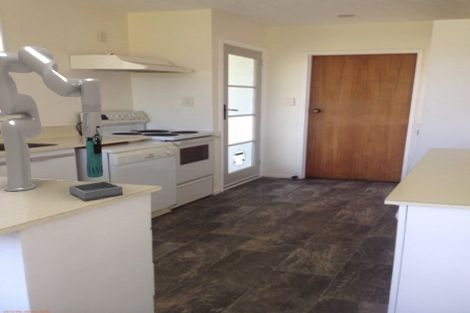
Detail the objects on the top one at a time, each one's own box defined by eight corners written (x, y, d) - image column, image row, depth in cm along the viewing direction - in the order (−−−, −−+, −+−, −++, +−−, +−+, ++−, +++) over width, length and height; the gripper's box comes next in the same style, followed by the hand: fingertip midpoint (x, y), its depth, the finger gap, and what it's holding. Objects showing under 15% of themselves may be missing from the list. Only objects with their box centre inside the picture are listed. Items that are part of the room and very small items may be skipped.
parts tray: (69, 194, 165) (69, 186, 164) (105, 188, 176) (105, 181, 175) (85, 201, 153) (84, 192, 153) (122, 194, 164) (122, 186, 164)
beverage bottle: (84, 180, 161) (81, 132, 158) (93, 177, 168) (90, 131, 165) (97, 181, 160) (95, 133, 157) (106, 178, 166) (104, 131, 163)
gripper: (74, 109, 163) (77, 151, 166) (91, 109, 151) (94, 155, 153) (91, 108, 168) (94, 150, 171) (110, 109, 156) (112, 153, 158)
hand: (94, 152), depth 162 cm, fingers closed on beverage bottle, 6 cm apart
